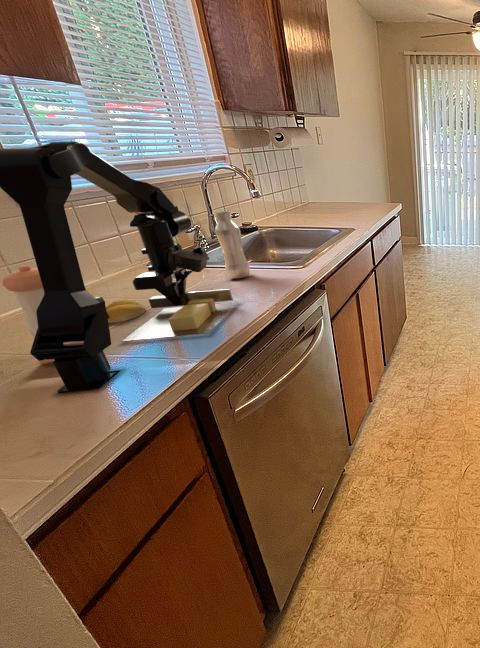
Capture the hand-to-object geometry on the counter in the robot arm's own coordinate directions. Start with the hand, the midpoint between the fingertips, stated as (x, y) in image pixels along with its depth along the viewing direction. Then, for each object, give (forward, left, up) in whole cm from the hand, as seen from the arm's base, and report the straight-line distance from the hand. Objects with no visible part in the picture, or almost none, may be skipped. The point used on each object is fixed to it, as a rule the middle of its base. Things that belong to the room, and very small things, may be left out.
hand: (180, 303), depth 100 cm
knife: (0, -3, 0) cm, 3 cm away
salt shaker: (-19, +13, -3) cm, 23 cm away
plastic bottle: (+26, -5, -3) cm, 27 cm away
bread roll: (0, +13, -3) cm, 13 cm away
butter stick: (-9, -6, -2) cm, 11 cm away
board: (-7, -4, -2) cm, 8 cm away
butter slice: (-3, -6, -2) cm, 7 cm away
